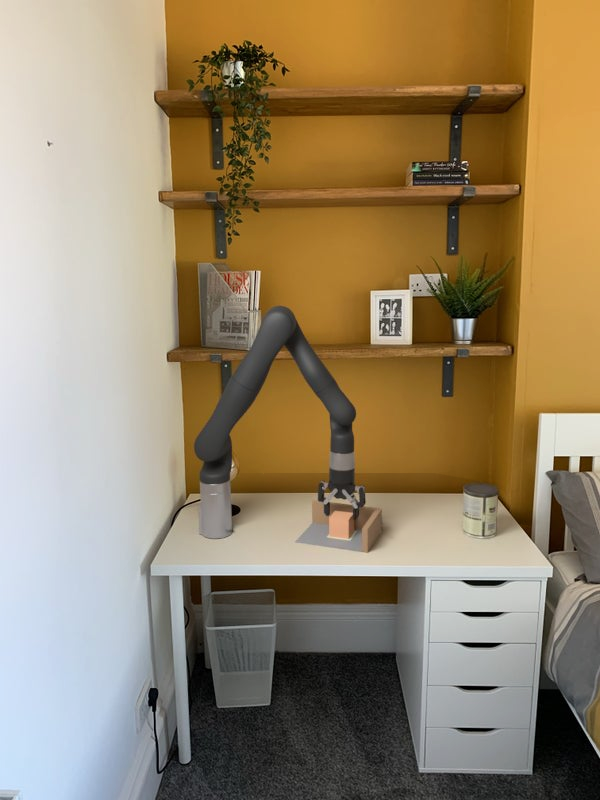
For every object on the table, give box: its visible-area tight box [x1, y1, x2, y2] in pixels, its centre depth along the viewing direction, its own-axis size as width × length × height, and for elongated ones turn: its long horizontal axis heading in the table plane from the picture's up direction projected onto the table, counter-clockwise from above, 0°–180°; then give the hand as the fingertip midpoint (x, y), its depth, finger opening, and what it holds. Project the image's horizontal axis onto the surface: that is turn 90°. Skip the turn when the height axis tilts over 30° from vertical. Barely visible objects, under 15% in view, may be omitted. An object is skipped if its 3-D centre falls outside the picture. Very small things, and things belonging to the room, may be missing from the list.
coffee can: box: [461, 482, 499, 540], centre depth 189 cm, size 10×10×14 cm
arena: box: [294, 500, 383, 554], centre depth 186 cm, size 22×17×8 cm
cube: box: [329, 511, 354, 539], centre depth 187 cm, size 6×6×6 cm
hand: (341, 517), depth 187 cm, fingers open, 8 cm apart
